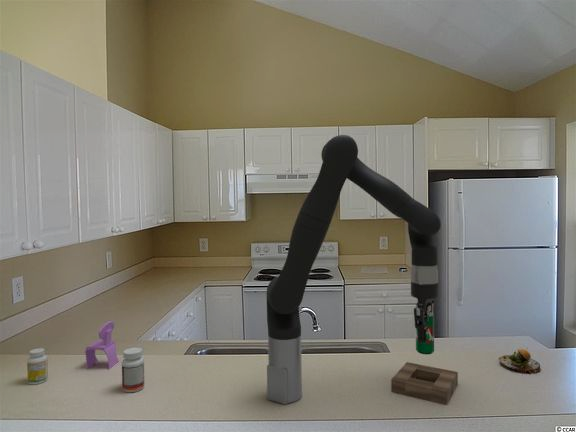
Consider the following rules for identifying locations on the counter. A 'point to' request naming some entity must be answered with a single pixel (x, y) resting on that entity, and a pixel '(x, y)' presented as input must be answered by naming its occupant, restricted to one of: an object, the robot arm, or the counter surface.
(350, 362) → the counter surface
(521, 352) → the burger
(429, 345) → the soda can
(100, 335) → the toy chair
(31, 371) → the supplement bottle
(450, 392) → the socket block
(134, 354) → the pill bottle
